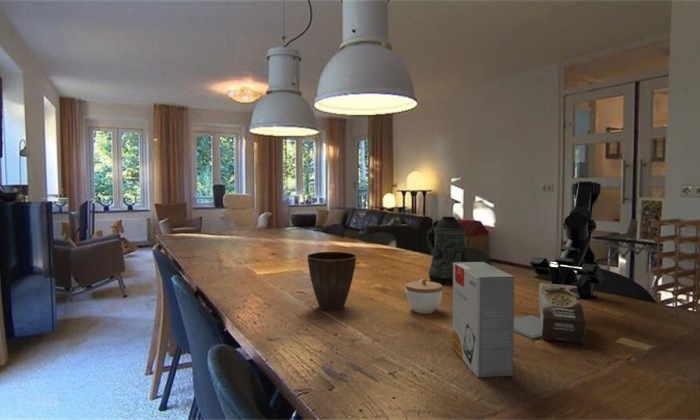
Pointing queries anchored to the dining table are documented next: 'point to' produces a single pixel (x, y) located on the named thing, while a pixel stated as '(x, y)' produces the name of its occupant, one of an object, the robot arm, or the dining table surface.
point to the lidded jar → (423, 295)
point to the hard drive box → (483, 318)
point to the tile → (528, 326)
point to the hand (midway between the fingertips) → (553, 293)
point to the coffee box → (561, 313)
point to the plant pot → (331, 277)
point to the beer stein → (446, 249)
